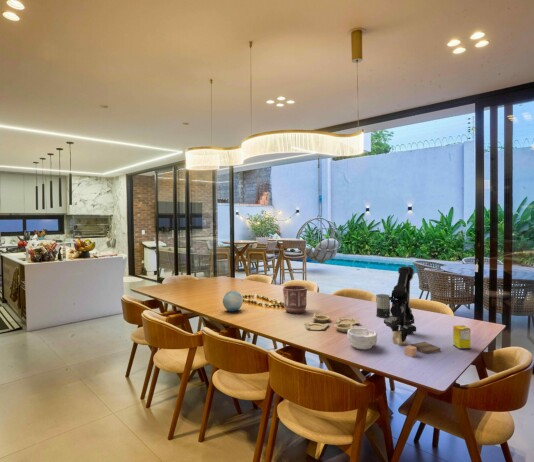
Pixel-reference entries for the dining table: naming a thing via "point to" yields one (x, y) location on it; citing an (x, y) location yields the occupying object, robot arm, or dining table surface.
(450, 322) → the dining table surface
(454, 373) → the dining table surface
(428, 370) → the dining table surface
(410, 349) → the terracotta cube
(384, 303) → the milk frother
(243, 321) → the dining table surface
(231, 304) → the decorative ball
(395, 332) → the oak block
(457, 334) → the supplement box
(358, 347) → the paper bowls
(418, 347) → the walnut block
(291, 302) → the pottery
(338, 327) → the tableware set
